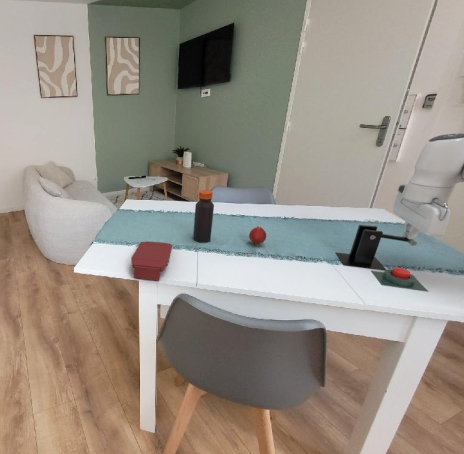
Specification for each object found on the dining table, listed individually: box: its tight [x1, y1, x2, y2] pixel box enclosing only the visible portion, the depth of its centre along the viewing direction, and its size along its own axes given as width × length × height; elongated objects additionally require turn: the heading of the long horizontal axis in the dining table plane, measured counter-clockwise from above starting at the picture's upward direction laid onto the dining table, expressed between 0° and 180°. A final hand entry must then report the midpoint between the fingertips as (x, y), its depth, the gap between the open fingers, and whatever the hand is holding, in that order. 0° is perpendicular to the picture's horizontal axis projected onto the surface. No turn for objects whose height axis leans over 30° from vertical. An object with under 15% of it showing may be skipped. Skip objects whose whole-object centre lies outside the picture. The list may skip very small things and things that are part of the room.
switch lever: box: [361, 228, 418, 246], centre depth 90 cm, size 12×5×2 cm, turn 68°
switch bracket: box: [335, 224, 387, 272], centre depth 93 cm, size 11×9×13 cm
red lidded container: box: [130, 240, 173, 282], centre depth 104 cm, size 12×5×25 cm
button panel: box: [370, 268, 429, 293], centre depth 84 cm, size 10×8×3 cm
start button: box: [391, 267, 411, 279], centre depth 84 cm, size 4×4×2 cm
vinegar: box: [192, 189, 215, 243], centre depth 114 cm, size 7×7×20 cm
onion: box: [248, 225, 267, 246], centre depth 110 cm, size 6×6×8 cm
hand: (408, 237), depth 88 cm, fingers closed
